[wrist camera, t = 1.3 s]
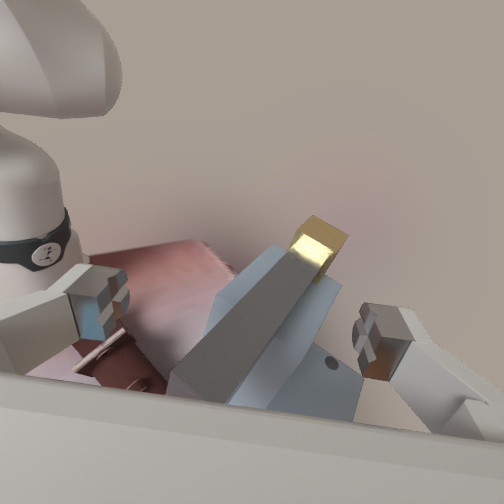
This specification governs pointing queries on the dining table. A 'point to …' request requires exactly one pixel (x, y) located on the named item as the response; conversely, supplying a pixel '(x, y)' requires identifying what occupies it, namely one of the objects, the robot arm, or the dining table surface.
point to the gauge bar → (255, 318)
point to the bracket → (118, 363)
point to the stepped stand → (293, 353)
